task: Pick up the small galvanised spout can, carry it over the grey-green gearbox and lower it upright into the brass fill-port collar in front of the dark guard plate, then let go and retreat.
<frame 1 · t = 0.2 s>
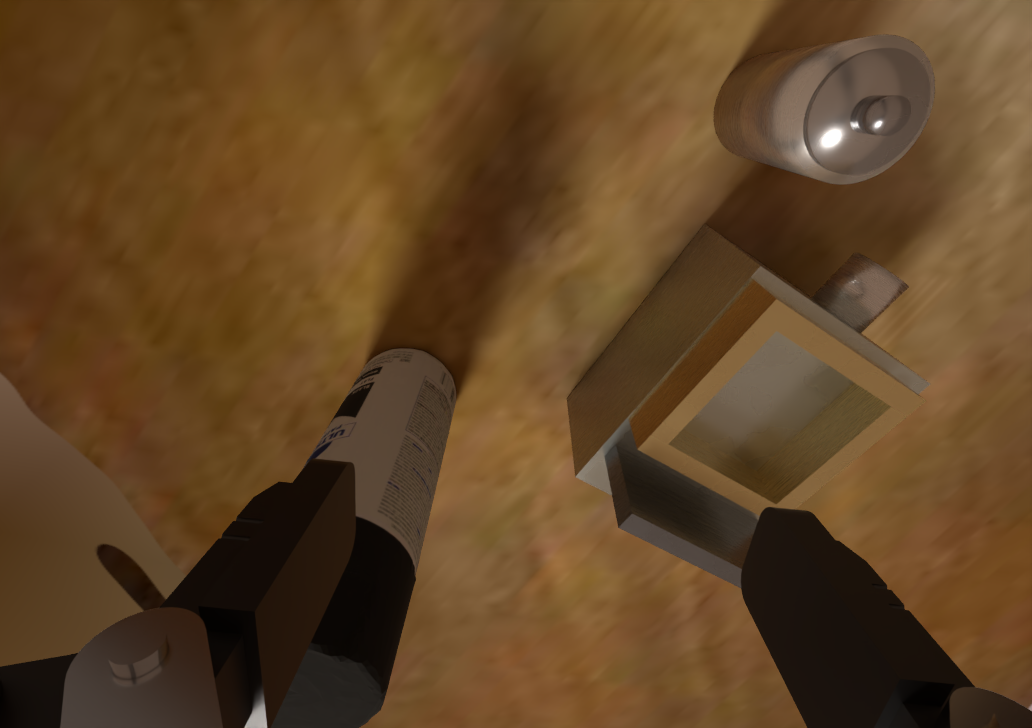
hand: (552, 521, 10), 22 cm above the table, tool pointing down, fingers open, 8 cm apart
spray can: (411, 386, 35), on the table
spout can: (761, 107, 26), on the table
gearbox: (696, 360, 33), on the table
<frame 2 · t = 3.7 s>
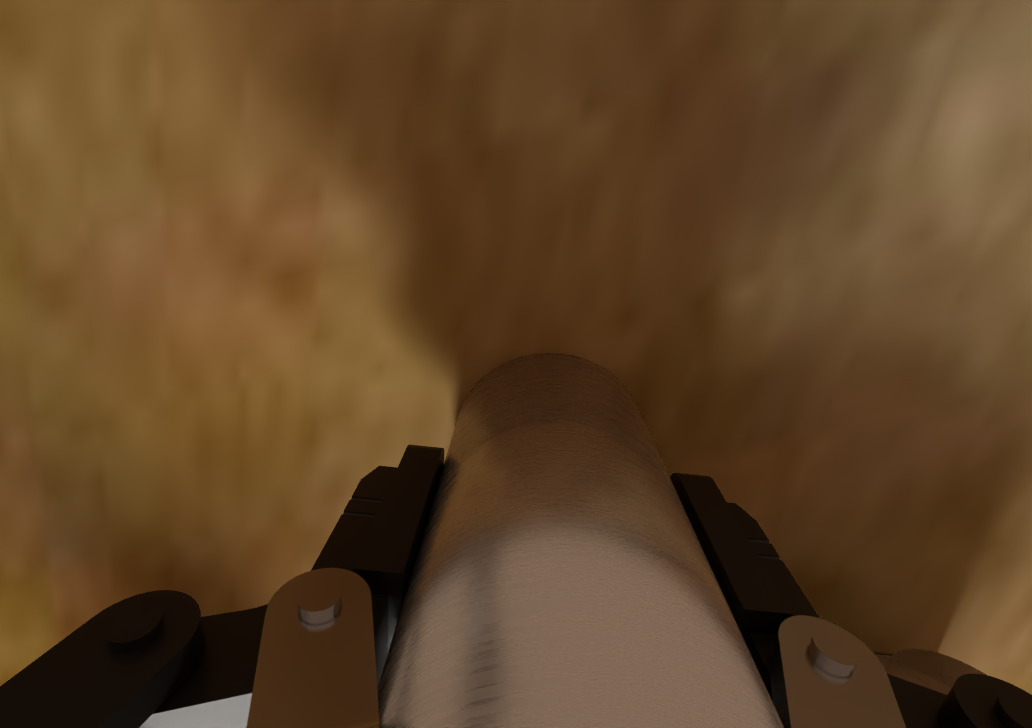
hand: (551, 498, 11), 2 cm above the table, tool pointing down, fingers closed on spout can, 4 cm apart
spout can: (548, 442, 13), on the table, touching gripper
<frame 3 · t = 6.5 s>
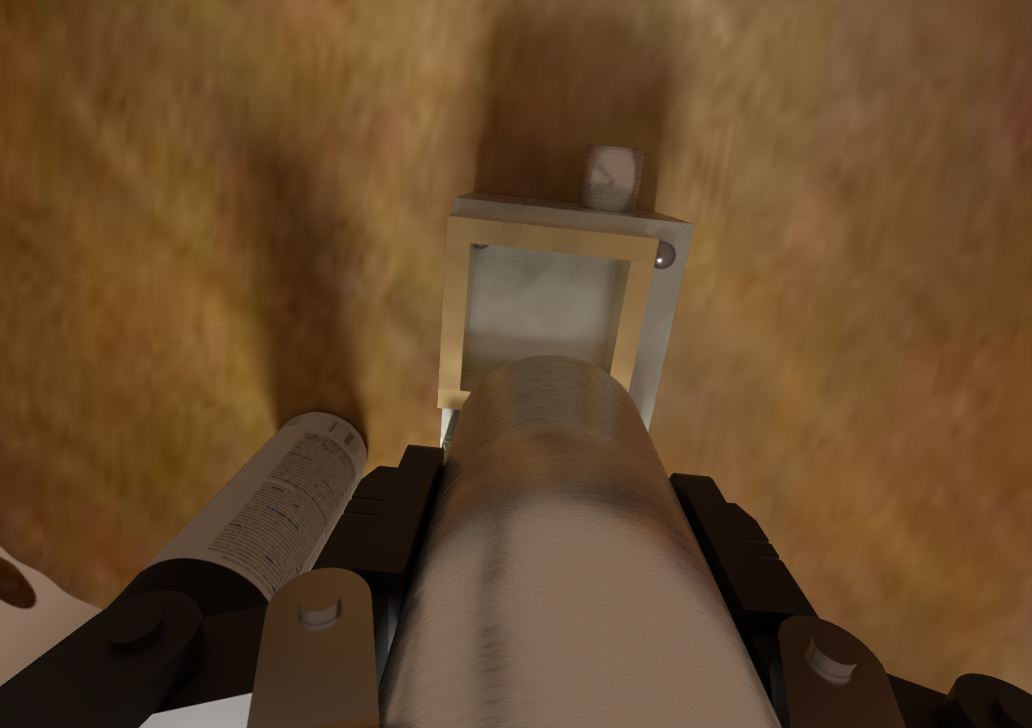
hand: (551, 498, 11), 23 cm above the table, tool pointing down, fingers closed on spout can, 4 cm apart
spray can: (326, 447, 37), on the table
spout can: (548, 443, 13), point 21 cm above the table, touching gripper
gearbox: (549, 313, 33), on the table
when the fingers open (12 cm above the table, at t = 9.3 s): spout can drops 1 cm, resting on gearbox.
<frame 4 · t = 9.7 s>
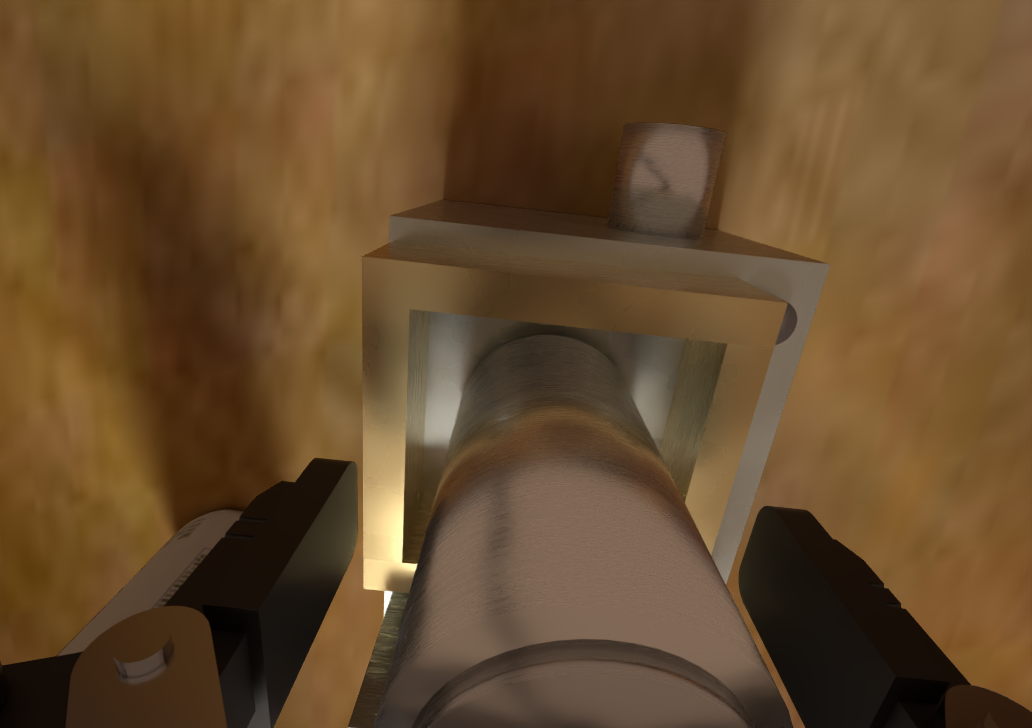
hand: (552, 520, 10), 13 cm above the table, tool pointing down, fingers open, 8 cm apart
spray can: (246, 553, 27), on the table
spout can: (544, 416, 14), point 8 cm above the table, touching gearbox
gearbox: (557, 377, 22), on the table
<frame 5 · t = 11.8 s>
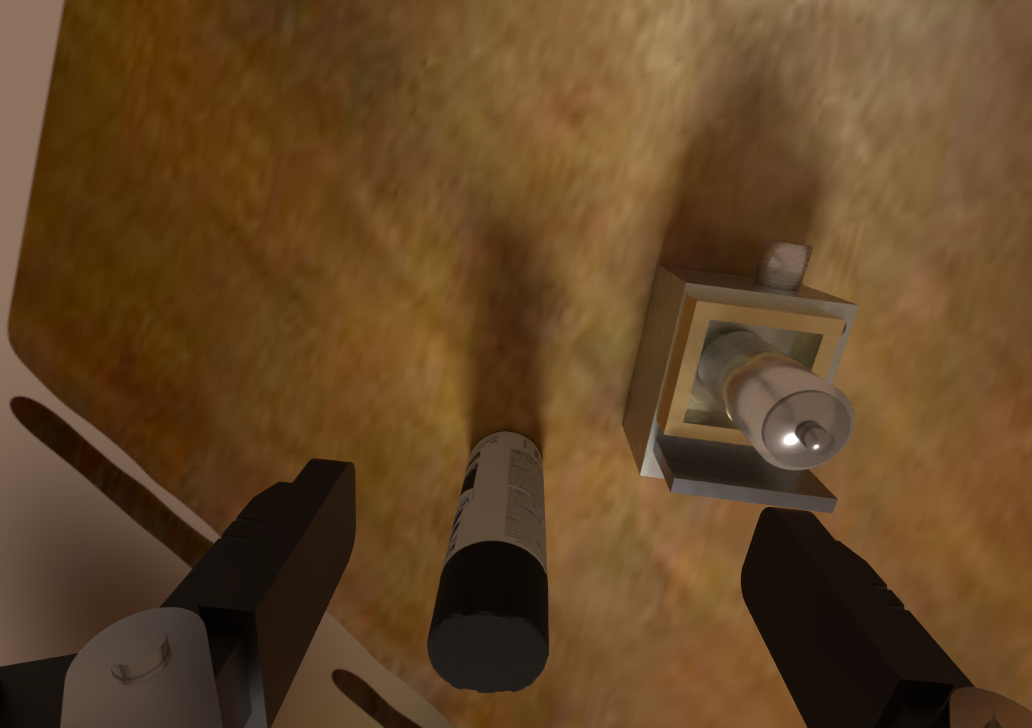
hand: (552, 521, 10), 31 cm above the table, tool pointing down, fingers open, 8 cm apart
spray can: (507, 460, 46), on the table
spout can: (735, 366, 33), point 8 cm above the table, touching gearbox
gearbox: (704, 358, 41), on the table
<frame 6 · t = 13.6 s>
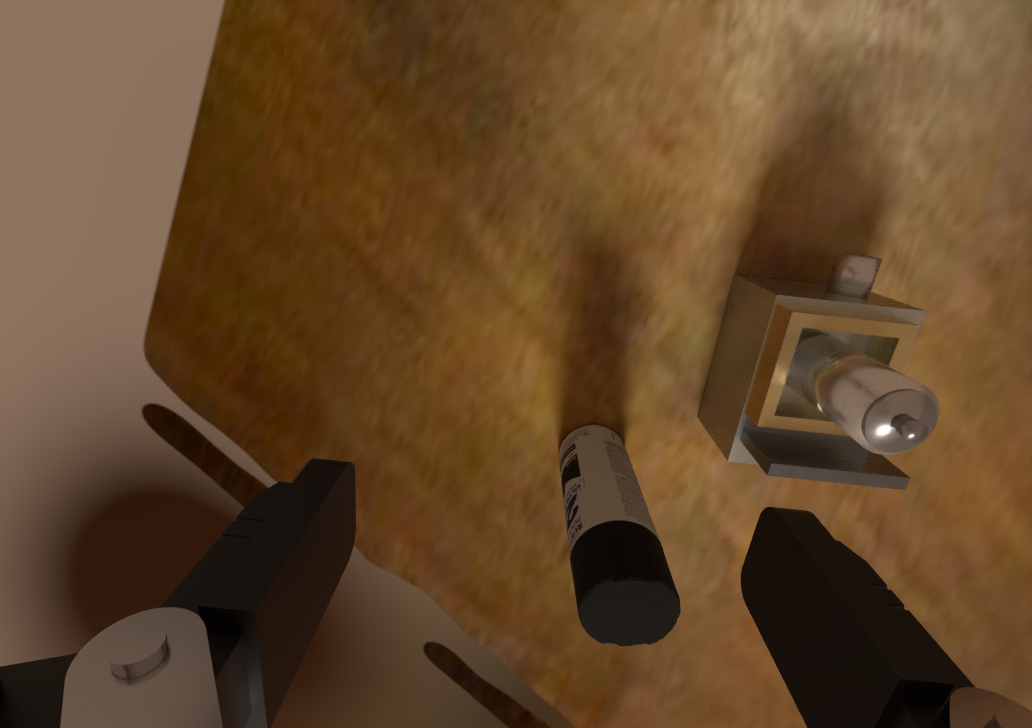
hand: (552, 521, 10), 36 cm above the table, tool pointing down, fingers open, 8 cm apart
spray can: (592, 450, 51), on the table
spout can: (816, 365, 38), point 8 cm above the table, touching gearbox
gearbox: (774, 355, 46), on the table
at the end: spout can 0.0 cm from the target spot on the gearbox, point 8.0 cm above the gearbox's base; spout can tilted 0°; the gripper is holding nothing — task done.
